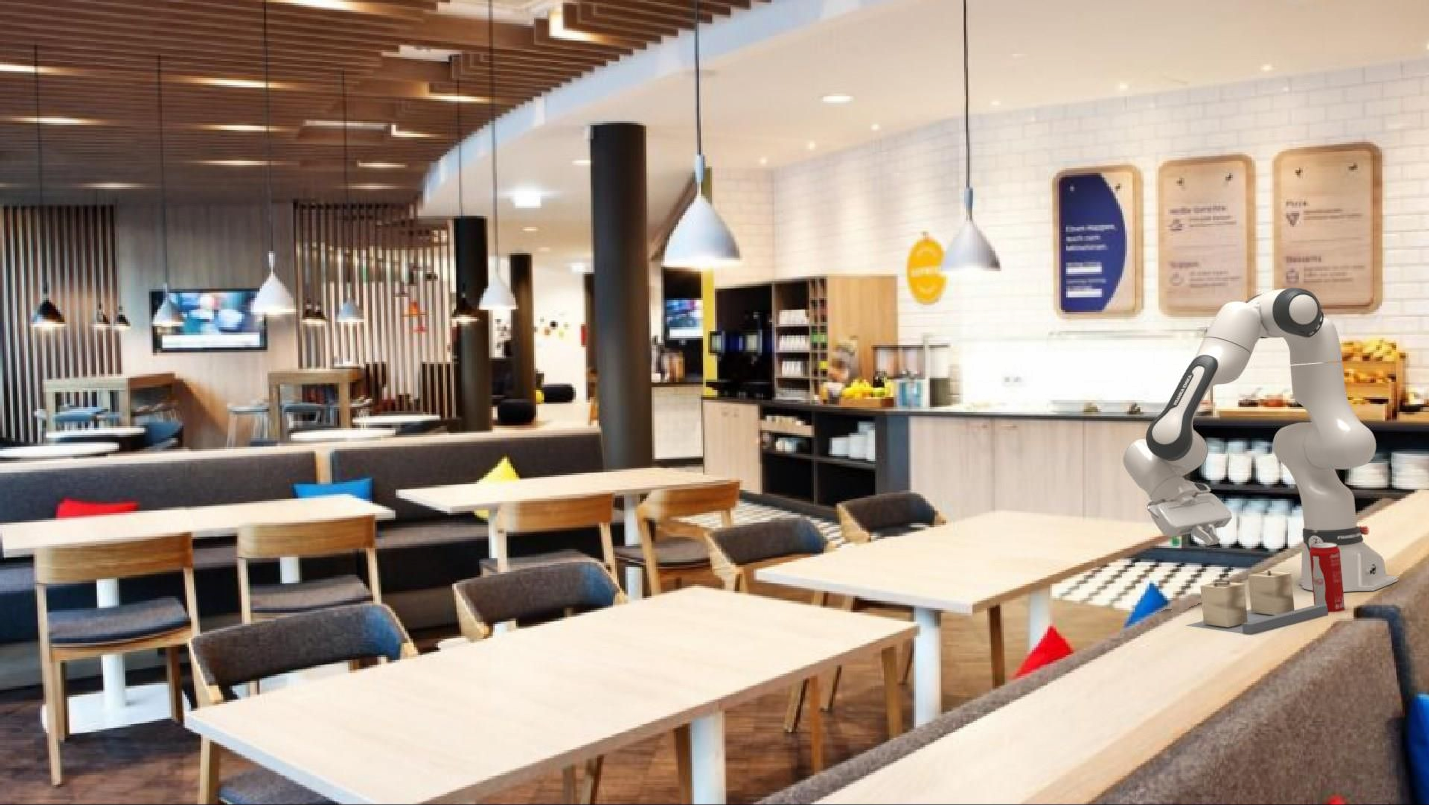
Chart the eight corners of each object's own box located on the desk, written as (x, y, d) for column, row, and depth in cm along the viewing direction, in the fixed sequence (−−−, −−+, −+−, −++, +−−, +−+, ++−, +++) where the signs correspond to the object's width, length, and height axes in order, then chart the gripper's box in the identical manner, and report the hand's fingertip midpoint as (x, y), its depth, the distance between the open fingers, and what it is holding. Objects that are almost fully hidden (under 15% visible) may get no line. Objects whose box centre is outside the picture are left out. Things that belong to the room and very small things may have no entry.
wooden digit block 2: (1223, 619, 256) (1219, 579, 256) (1247, 622, 251) (1244, 581, 251) (1203, 624, 253) (1200, 583, 253) (1228, 627, 248) (1224, 586, 248)
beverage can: (1338, 610, 260) (1332, 540, 260) (1351, 616, 254) (1344, 544, 254) (1309, 612, 261) (1303, 543, 261) (1321, 618, 254) (1315, 546, 254)
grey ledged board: (1261, 611, 266) (1259, 597, 266) (1328, 619, 252) (1327, 605, 252) (1186, 630, 255) (1184, 615, 255) (1252, 639, 241) (1250, 624, 241)
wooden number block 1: (1269, 607, 263) (1266, 569, 263) (1294, 610, 258) (1290, 571, 258) (1251, 612, 260) (1247, 573, 260) (1276, 615, 255) (1272, 575, 255)
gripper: (1150, 493, 272) (1189, 539, 264) (1211, 483, 282) (1252, 527, 274) (1136, 512, 276) (1175, 558, 268) (1197, 502, 286) (1237, 546, 278)
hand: (1214, 542), depth 271 cm, fingers closed
